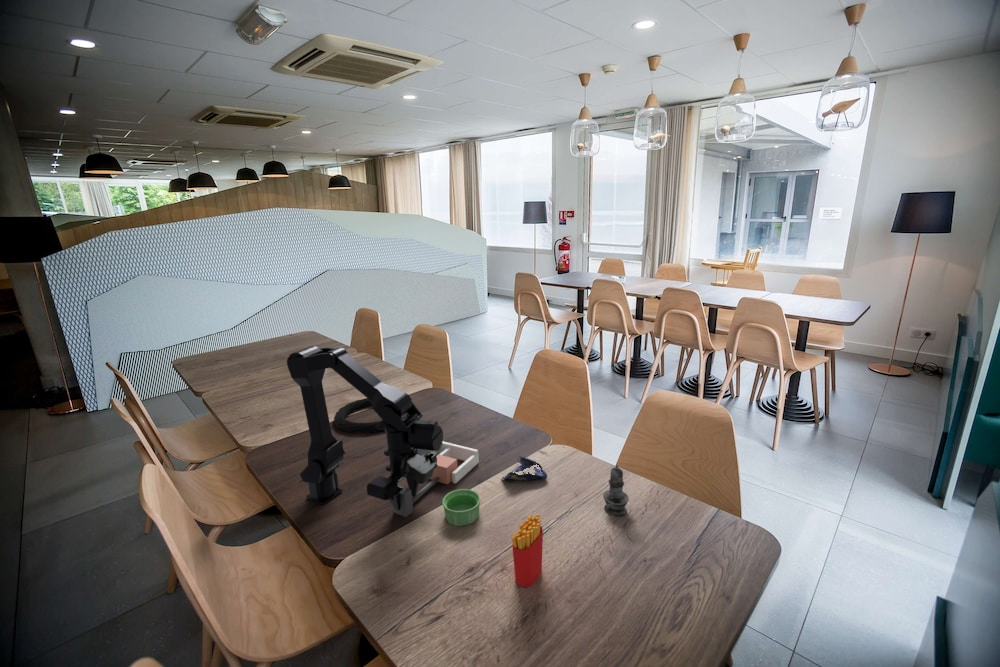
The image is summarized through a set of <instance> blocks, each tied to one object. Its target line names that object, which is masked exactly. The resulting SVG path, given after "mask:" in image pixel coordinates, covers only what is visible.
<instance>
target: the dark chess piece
mask: <svg viewBox="0 0 1000 667" xmlns="http://www.w3.org/2000/svg"><path fill="white" fill-rule="evenodd" d="M609 477H610V479H609V480H608V484H609V489H608V490H606V491H605V492H604V493H603V500H604V503H605V505H604V507H603V509H604V512H605V513H606V514H607V515H609V516H611V517H614V518H621V517H624V516H626V515H627V512H628V509H627V508H626V506H627V503H628V502H629V496H628V494H627V493H626V492H624V491H623V488H624V486H625V481H624V480H623V477H624V471H623V469H621V467H619V465H618V464H616V465H615V467H612V468H611V469H610V475H609Z"/></svg>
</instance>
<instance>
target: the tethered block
mask: <svg viewBox="0 0 1000 667" xmlns="http://www.w3.org/2000/svg"><path fill="white" fill-rule="evenodd" d="M437 465H438V466H437V467H436V468H435V469H434V471H433V474H432V477H431V478H429V480H430V481H429V482H428V483H427V484H426V485H424V487H422V488H421V489H420V490H419V491H417V493H416V496H415V497H414V496H412V492H411V489H409V487H404V486H401V485H399V487H400V488H403V490H402V491H401V492H400V510H396V509H395V508H394V506H393V505H392V508H393V514H396V515H399V516H402V517H404V518H407V517H409V516H410V515H411V514H412V513H413V512H414V503H415V501H417V500H418V499H419V498H420V497H421V496H422V495H424V494H425V493H426V492H427V491H428V490H430V489H431V488H433V486H434V485H435V484H436V483H437V482H438V483H442V484H445V485H448V484H450V483H452V482H453V481H452V472H453V471H455V470H456V469H457V468H458V467H459V466H458V459H456V458H452V457H451V458H450V457H447V456H443V455H438V456H437Z"/></svg>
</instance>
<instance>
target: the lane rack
mask: <svg viewBox="0 0 1000 667" xmlns="http://www.w3.org/2000/svg"><path fill="white" fill-rule="evenodd" d="M442 442H443V452H441V453H440V454H439V455H443V456H447V457H450V458H454V459H457V460H460V461H463V463H461V464H460V465H458V466H457V467H458V468H457V469H456V470H455V471H453V472H452V481H451V482H452V484H457V483H458V482H459V481H461V479H463V478H464V476H466V475H467V474H468V473H469V472H470V471H471V470H472V469H474V467H476V466H477V465H478V464H479V463H480V461H479V449H476V448H471V447H467V446H463V445H459V444H455V443H451V442H449V441H448V442H447V441H444V440H443V441H442ZM436 457H437V456H436Z"/></svg>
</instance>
